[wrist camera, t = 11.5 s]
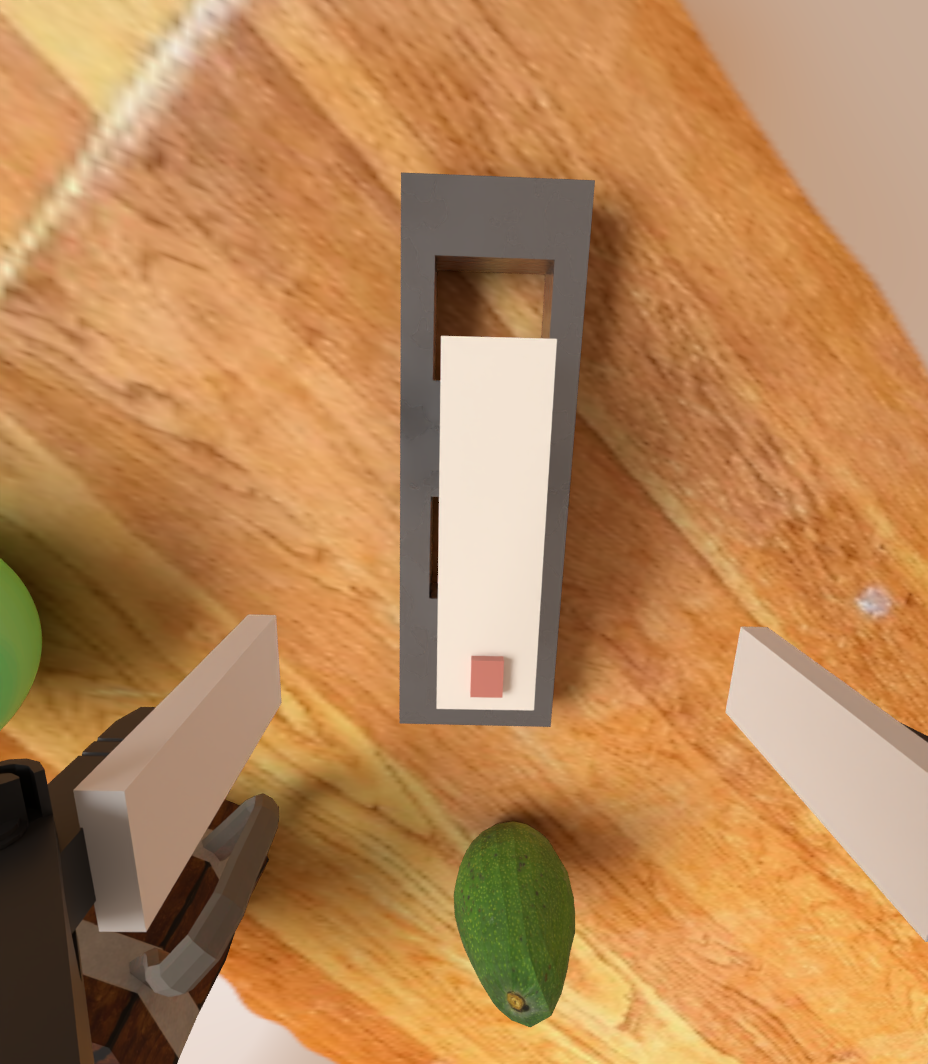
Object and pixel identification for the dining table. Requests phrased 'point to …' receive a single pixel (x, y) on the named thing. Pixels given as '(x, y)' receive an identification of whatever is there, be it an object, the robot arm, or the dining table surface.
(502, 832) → the fruit
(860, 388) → the dining table surface
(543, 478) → the cream block with pegs
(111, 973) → the mug
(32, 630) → the toy bird
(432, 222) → the keyhole plate
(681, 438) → the dining table surface
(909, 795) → the robot arm
